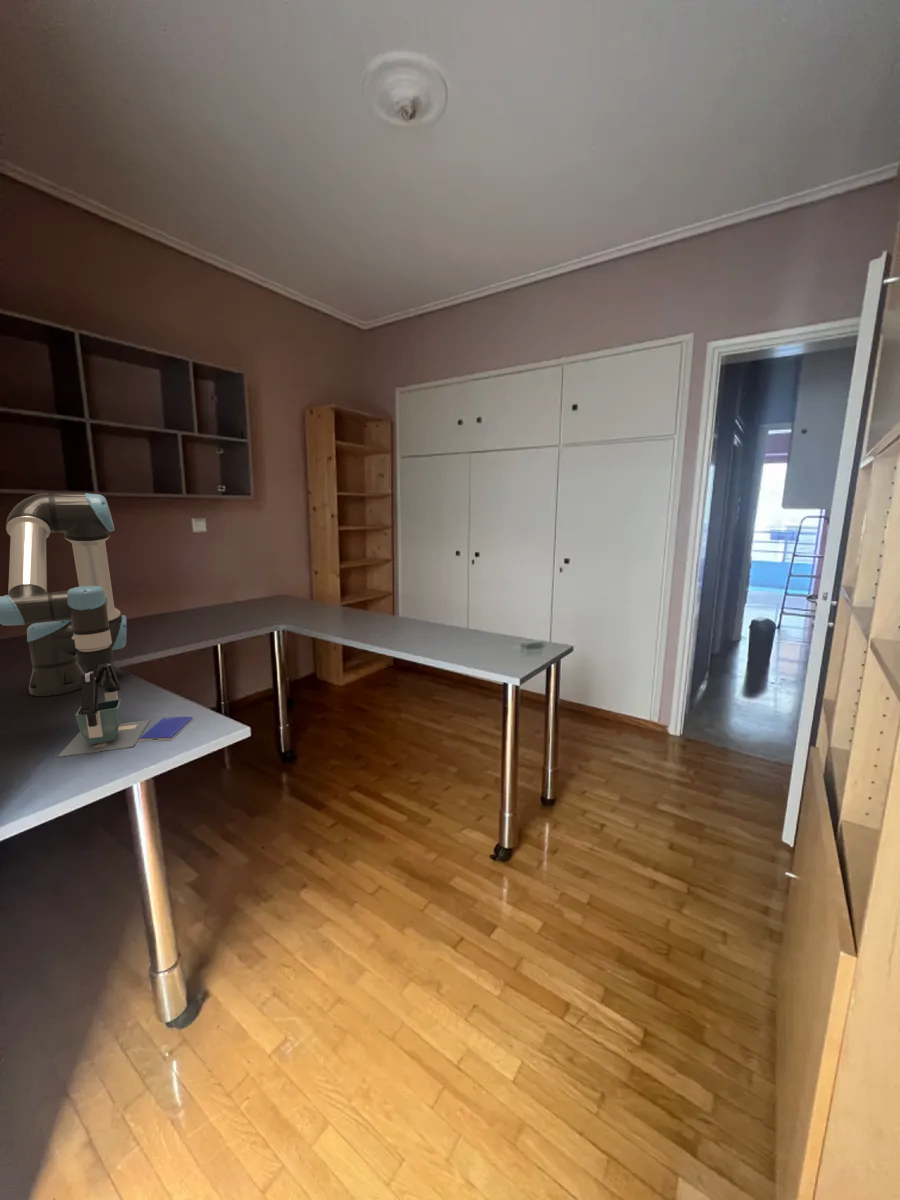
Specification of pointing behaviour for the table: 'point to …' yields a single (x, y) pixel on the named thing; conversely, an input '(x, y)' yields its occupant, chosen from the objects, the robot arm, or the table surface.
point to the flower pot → (103, 721)
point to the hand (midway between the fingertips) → (105, 725)
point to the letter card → (123, 739)
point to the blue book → (166, 728)
